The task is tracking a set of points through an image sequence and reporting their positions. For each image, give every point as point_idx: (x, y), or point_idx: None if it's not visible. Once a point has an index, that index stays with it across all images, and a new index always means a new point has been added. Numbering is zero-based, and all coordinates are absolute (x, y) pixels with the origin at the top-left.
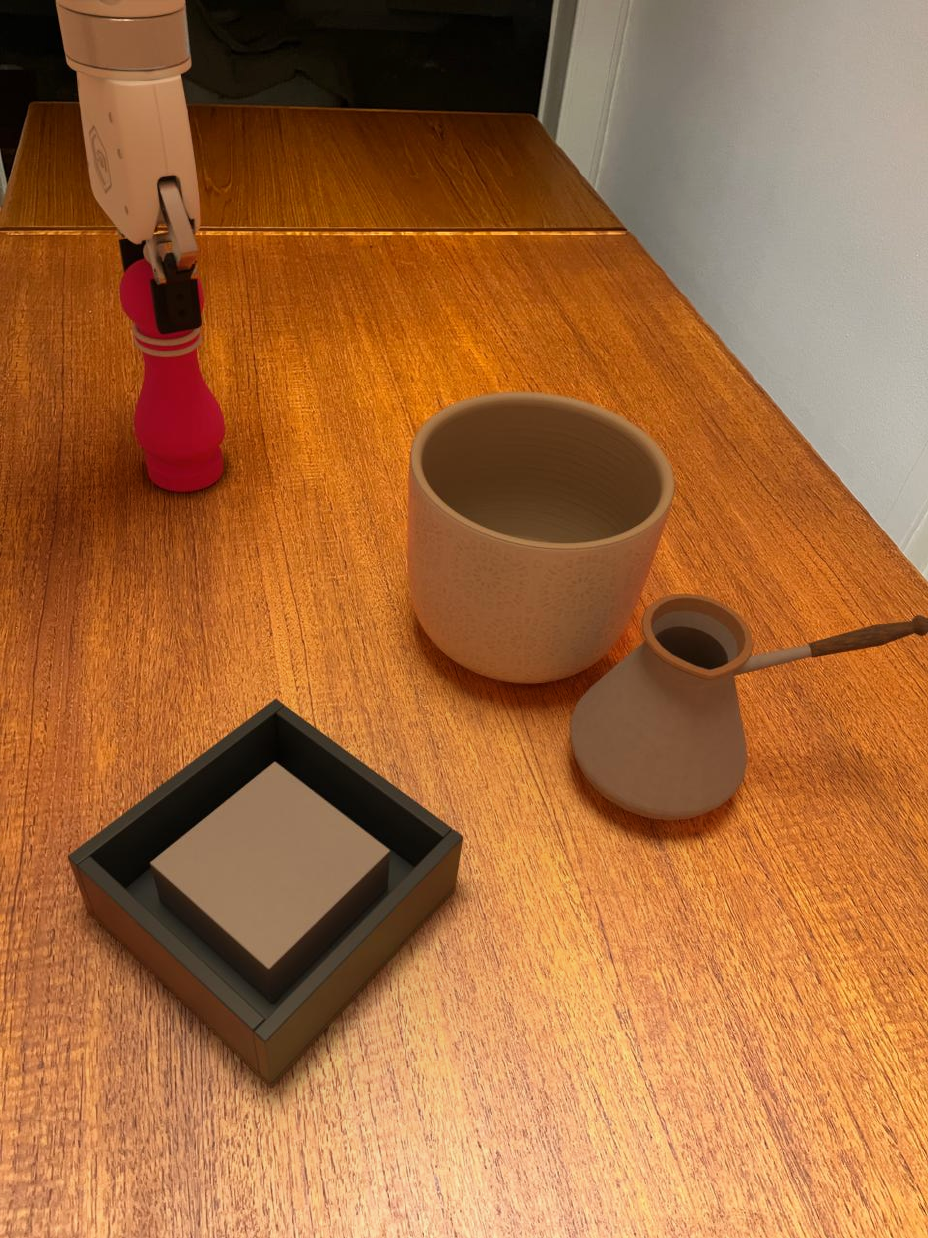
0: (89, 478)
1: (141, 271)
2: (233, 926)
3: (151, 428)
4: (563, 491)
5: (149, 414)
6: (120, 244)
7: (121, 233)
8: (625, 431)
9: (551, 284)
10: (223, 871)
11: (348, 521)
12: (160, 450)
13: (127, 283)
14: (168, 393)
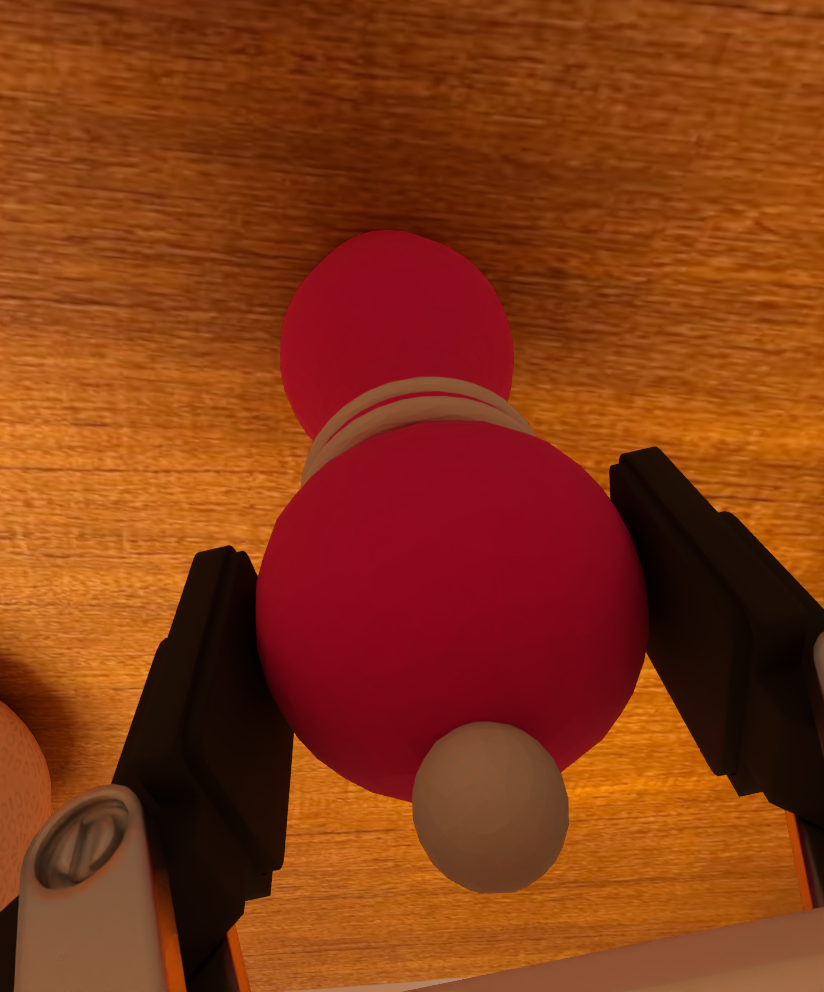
0: (405, 64)
1: (414, 667)
2: None
3: (314, 299)
4: None
5: (334, 310)
6: (761, 605)
7: (817, 668)
8: None
9: (745, 881)
10: None
11: (183, 576)
12: (293, 299)
13: (395, 554)
14: (322, 400)
